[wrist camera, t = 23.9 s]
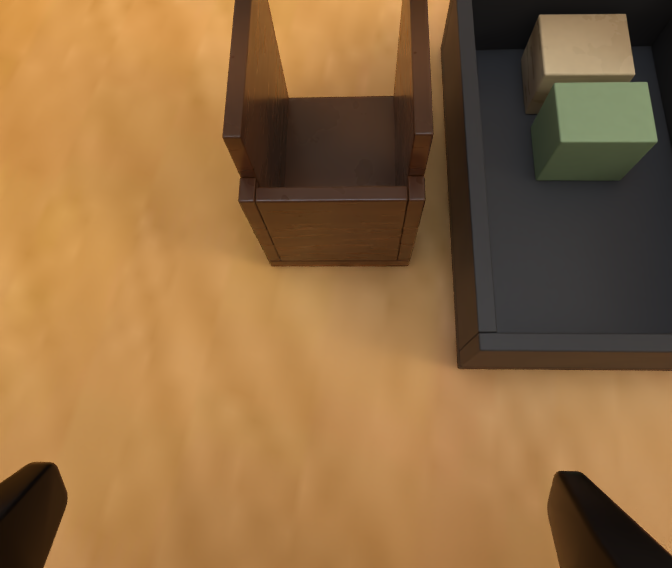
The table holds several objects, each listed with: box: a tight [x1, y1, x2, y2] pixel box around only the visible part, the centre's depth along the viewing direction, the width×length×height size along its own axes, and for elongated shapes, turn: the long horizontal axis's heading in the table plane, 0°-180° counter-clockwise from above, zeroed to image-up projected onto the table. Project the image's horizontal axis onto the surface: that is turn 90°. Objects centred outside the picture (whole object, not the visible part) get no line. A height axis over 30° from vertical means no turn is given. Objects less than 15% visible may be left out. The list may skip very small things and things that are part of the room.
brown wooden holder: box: [223, 0, 433, 266], centre depth 22 cm, size 9×7×10 cm
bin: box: [441, 0, 672, 371], centre depth 23 cm, size 17×11×5 cm, turn 179°
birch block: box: [521, 14, 635, 114], centre depth 25 cm, size 3×4×3 cm
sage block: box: [531, 82, 658, 181], centre depth 24 cm, size 3×4×3 cm
